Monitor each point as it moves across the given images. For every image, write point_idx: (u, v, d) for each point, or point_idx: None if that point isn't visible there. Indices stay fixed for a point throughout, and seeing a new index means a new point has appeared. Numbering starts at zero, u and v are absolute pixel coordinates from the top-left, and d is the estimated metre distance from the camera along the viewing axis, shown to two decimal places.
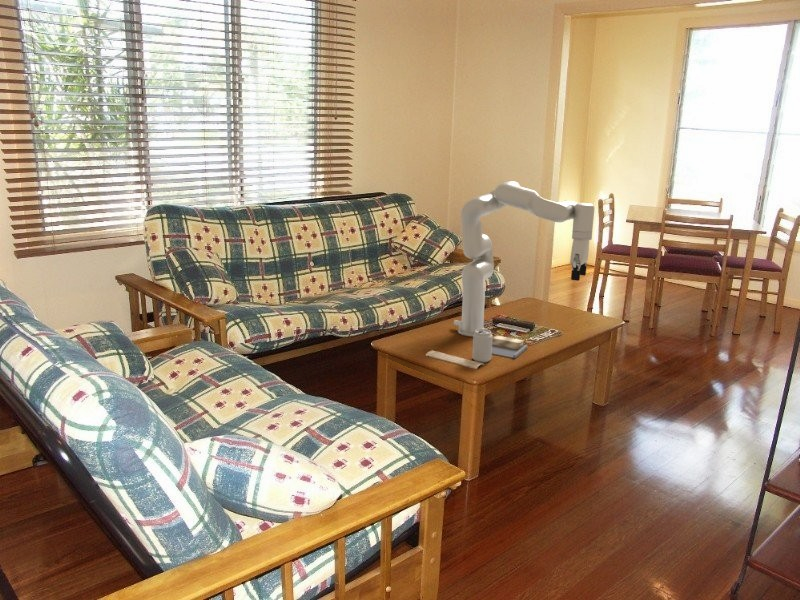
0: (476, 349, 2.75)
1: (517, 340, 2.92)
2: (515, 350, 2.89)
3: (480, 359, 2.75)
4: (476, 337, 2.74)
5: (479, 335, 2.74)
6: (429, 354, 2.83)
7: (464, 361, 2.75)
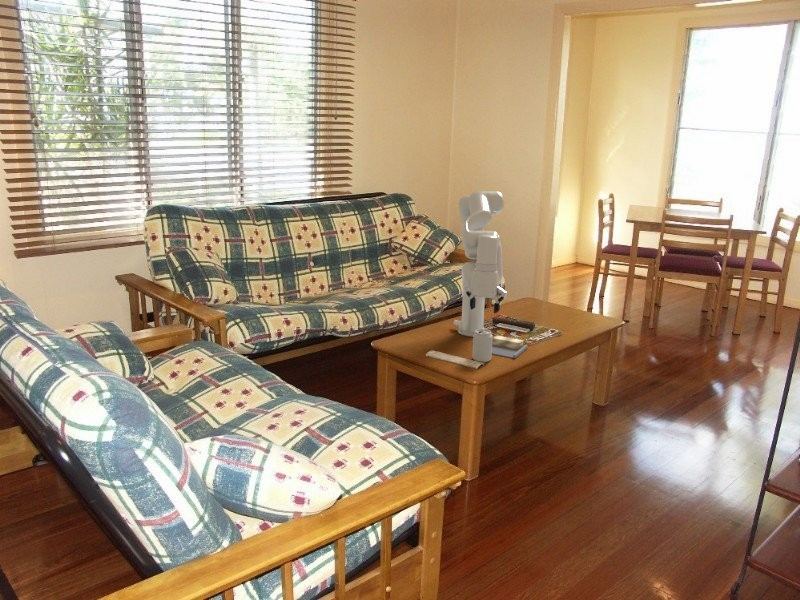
0: (476, 349, 2.75)
1: (517, 340, 2.92)
2: (515, 350, 2.89)
3: (480, 359, 2.75)
4: (476, 337, 2.74)
5: (479, 335, 2.74)
6: (429, 354, 2.82)
7: (465, 361, 2.75)
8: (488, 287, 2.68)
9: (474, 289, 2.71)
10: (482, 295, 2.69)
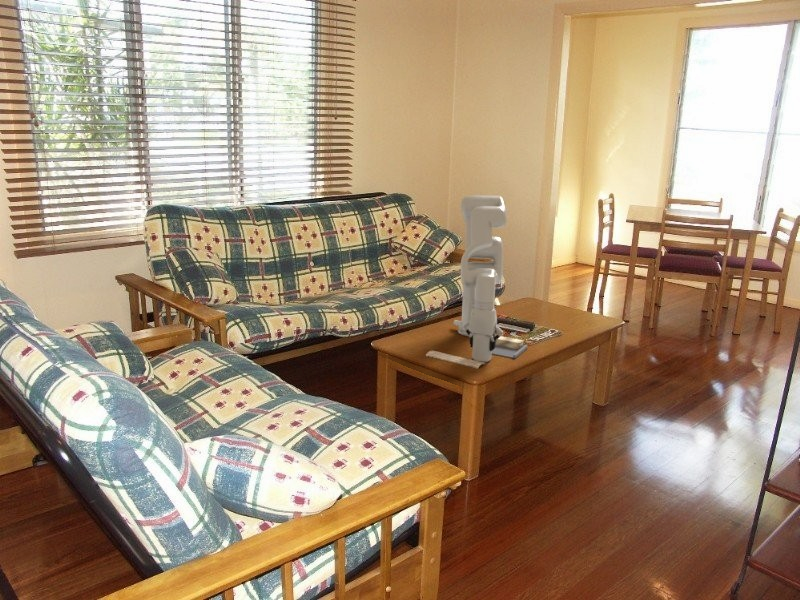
0: (476, 349, 2.75)
1: (517, 340, 2.92)
2: (515, 350, 2.89)
3: (480, 359, 2.75)
4: (476, 337, 2.74)
5: (479, 335, 2.74)
6: (429, 354, 2.82)
7: (465, 360, 2.75)
8: (486, 325, 2.72)
9: (472, 326, 2.75)
10: (480, 332, 2.74)
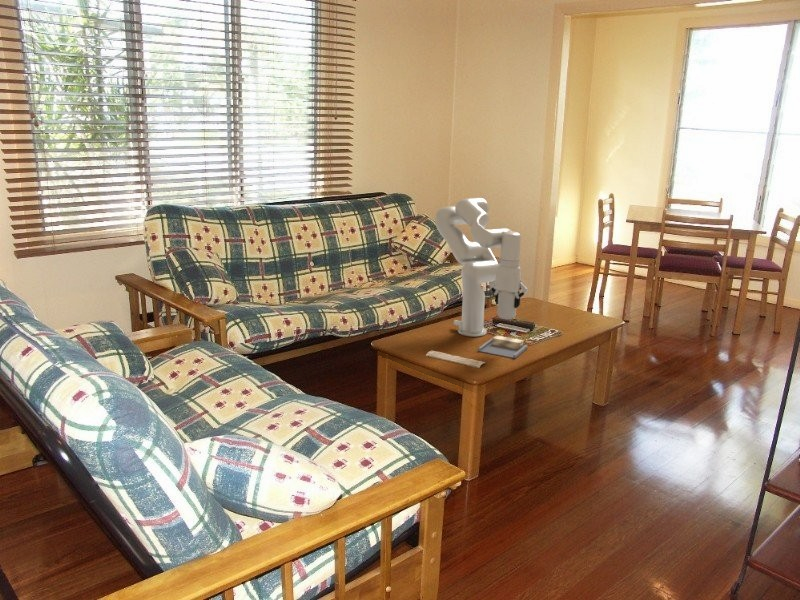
0: (502, 306, 2.84)
1: (517, 340, 2.92)
2: (515, 350, 2.89)
3: (505, 316, 2.85)
4: (501, 294, 2.83)
5: (504, 292, 2.83)
6: (429, 354, 2.82)
7: (466, 360, 2.76)
8: (511, 282, 2.81)
9: (498, 284, 2.84)
10: (505, 290, 2.83)
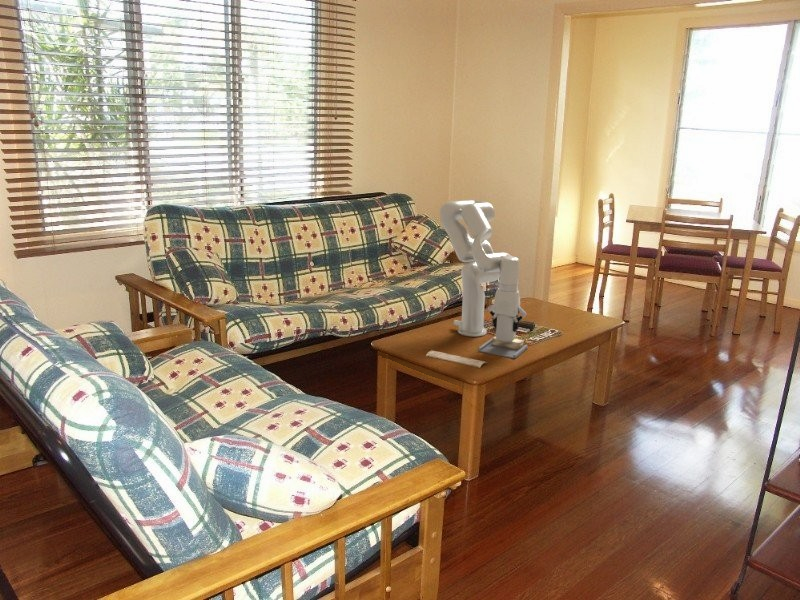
0: (500, 330, 2.87)
1: (517, 340, 2.92)
2: (515, 350, 2.89)
3: (504, 339, 2.87)
4: (500, 318, 2.86)
5: (503, 316, 2.86)
6: (430, 354, 2.82)
7: (466, 360, 2.76)
8: (510, 306, 2.84)
9: (496, 308, 2.87)
10: (504, 313, 2.86)
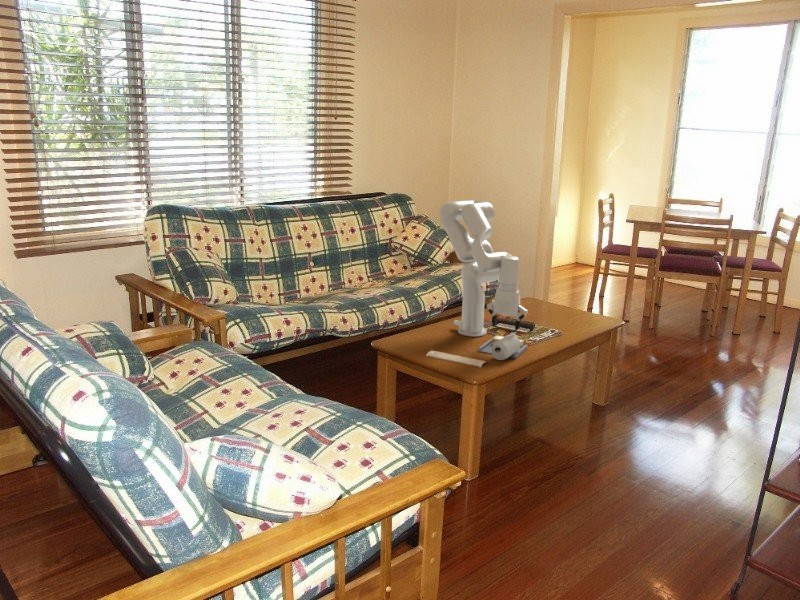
0: None
1: None
2: None
3: None
4: None
5: None
6: (430, 354, 2.82)
7: (467, 360, 2.76)
8: (510, 306, 2.84)
9: (496, 307, 2.87)
10: (504, 313, 2.86)
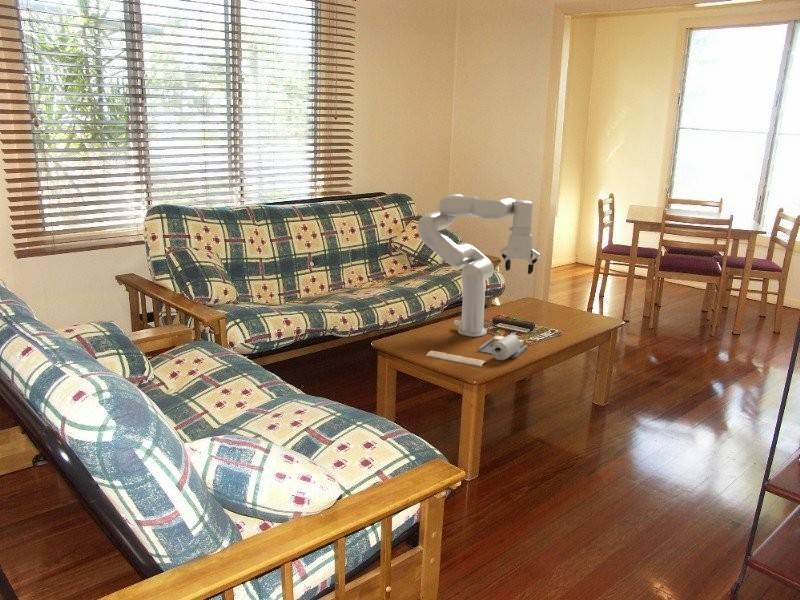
0: None
1: None
2: None
3: None
4: None
5: None
6: (430, 354, 2.82)
7: (467, 359, 2.77)
8: (523, 249, 2.87)
9: (509, 251, 2.91)
10: (517, 257, 2.89)
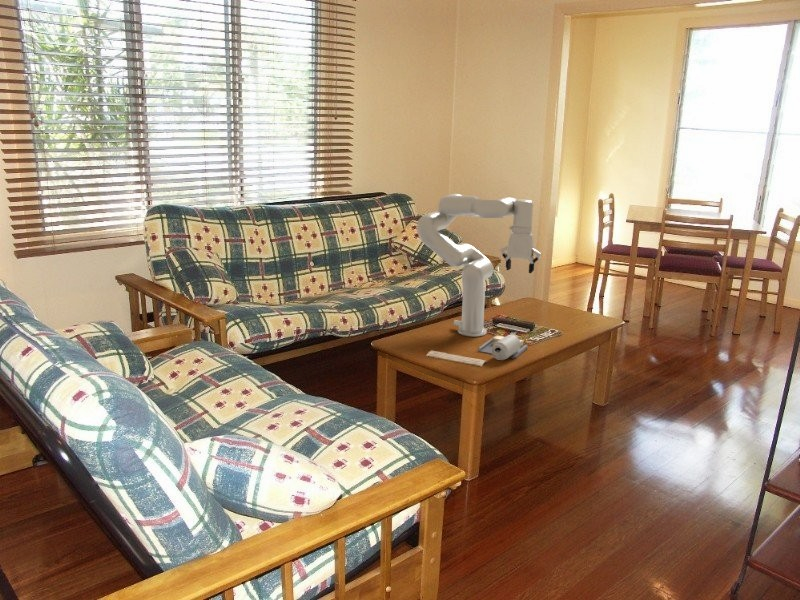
0: None
1: None
2: None
3: None
4: None
5: None
6: (430, 354, 2.82)
7: (468, 359, 2.77)
8: (524, 248, 2.88)
9: (510, 251, 2.91)
10: (518, 256, 2.90)
